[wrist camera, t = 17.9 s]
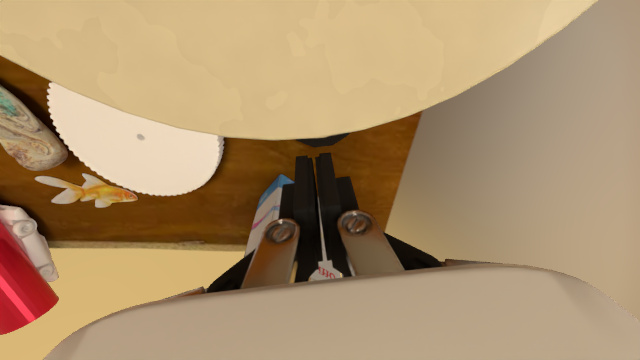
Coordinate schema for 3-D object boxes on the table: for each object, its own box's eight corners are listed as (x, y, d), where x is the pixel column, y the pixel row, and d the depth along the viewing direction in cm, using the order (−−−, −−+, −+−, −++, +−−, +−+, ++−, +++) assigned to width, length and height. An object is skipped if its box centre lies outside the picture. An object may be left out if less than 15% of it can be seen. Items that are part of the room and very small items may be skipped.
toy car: (-43, 209, 27) (-6, 196, 30) (1, 291, 31) (29, 272, 35) (9, 212, 27) (40, 199, 30) (46, 292, 32) (69, 273, 35)
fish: (50, 203, 29) (28, 168, 27) (50, 203, 30) (28, 168, 27) (142, 210, 31) (130, 177, 28) (142, 210, 31) (130, 177, 28)
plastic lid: (39, 105, 23) (12, 115, 21) (135, 9, 19) (114, 9, 17) (166, 200, 30) (156, 214, 28) (254, 144, 26) (250, 156, 24)
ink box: (257, 198, 30) (231, 286, 20) (281, 172, 28) (265, 255, 18) (310, 229, 33) (310, 318, 24) (335, 207, 31) (346, 295, 22)
